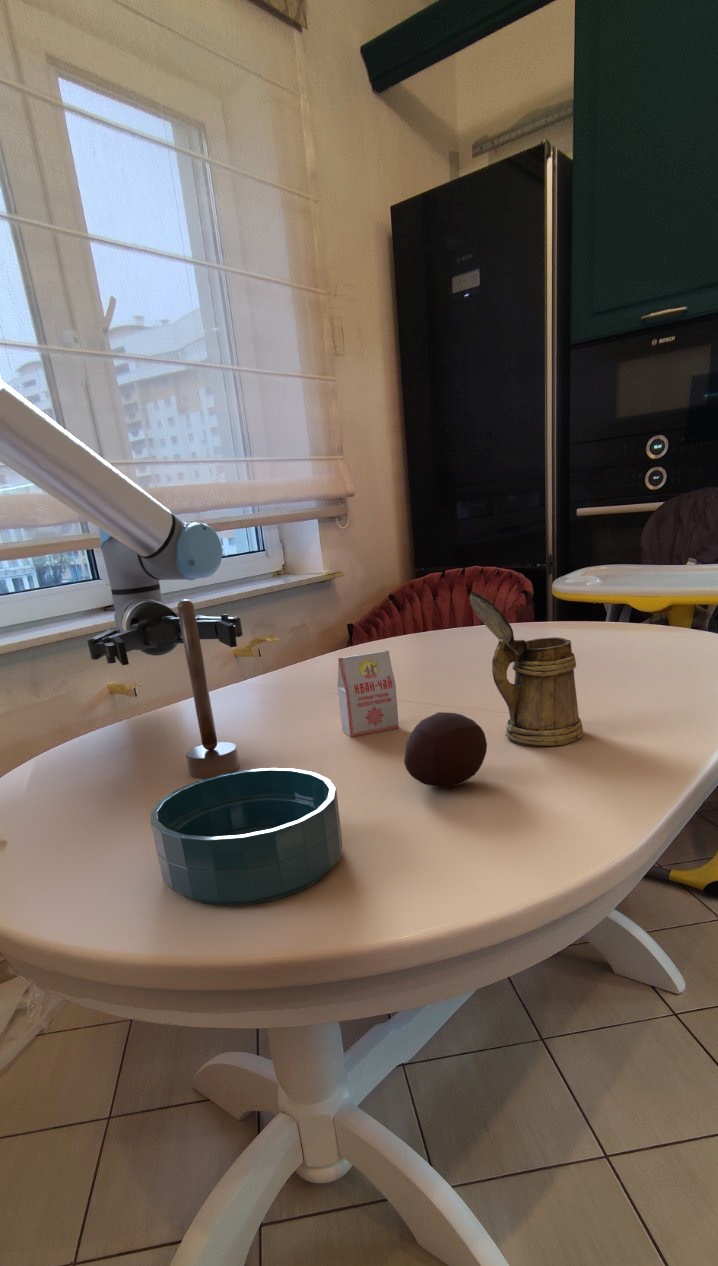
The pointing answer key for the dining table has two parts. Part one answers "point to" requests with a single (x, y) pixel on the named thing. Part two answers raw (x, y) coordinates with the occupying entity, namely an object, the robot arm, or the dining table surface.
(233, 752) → the brown stick with disc
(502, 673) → the wooden mug
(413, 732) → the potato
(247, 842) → the bowl
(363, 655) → the tea bag
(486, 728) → the dining table surface
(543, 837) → the dining table surface
